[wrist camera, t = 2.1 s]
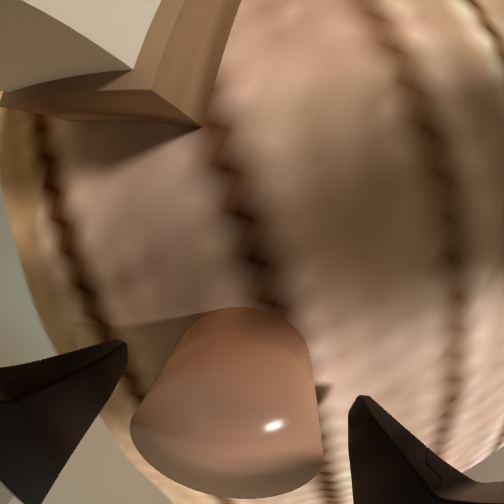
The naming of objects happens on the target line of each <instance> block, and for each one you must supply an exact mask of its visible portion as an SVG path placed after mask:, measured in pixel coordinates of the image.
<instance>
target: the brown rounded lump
mask: <svg viewBox="0 0 504 504" xmlns="http://www.w3.org/2000/svg"><path fill="white" fill-rule="evenodd" d="M130 434H131V437H132V440H133V443H134V445H135V447H136V448H137V450H138V451H139V453H140V454H141V455H142V456H143V458H144V459H145V460H146V461H147V462H148V463H149V464H150V465H151V466H153V467H154V468H155V469H156V470H158V471H159V472H160V473H162V474H163V475H165V476H166V477H168V478H170V479H172V480H173V481H175V482H177V483H179V484H181V485H183V486H186V487H188V488H191V489H193V490H196V491H199V492H203V493H206V494H210V495H215V496H220V497H227V498H237V499H256V498H266V497H272V496H277V495H281V494H284V493H287V492H290V491H293V490H295V489H297V488H299V487H301V486H303V485H304V484H306V483H307V482H309V481H310V480H311V479H312V478H313V477H314V476H315V475H316V474H317V473H318V471H319V470H320V468H321V466H322V463H323V447H322V439H321V430H320V422H319V414H318V406H317V399H316V391H315V384H314V377H313V370H312V364H311V358H310V352H309V349H308V347H307V344H306V342H305V341H304V339H303V337H302V336H301V335H300V334H299V332H298V331H297V330H296V329H295V328H294V327H293V326H292V325H290V324H289V323H288V322H286V321H285V320H283V319H282V318H280V317H278V316H276V315H274V314H271V313H269V312H266V311H263V310H259V309H254V308H248V307H230V308H224V309H219V310H216V311H213V312H210V313H208V314H206V315H204V316H202V317H201V318H199V319H198V320H196V321H195V322H194V323H193V324H192V325H191V326H190V327H189V329H188V330H187V331H186V333H185V334H184V336H183V337H182V339H181V340H180V342H179V344H178V345H177V347H176V348H175V350H174V351H173V353H172V355H171V356H170V358H169V359H168V361H167V362H166V364H165V366H164V367H163V369H162V370H161V372H160V373H159V375H158V377H157V378H156V380H155V381H154V383H153V385H152V386H151V388H150V389H149V391H148V392H147V394H146V396H145V397H144V399H143V400H142V402H141V404H140V405H139V407H138V408H137V410H136V412H135V413H134V415H133V417H132V419H131V423H130Z"/></svg>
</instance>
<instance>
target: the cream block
mask: <svg viewBox="0 0 504 504" xmlns="http://www.w3.org/2000/svg"><path fill="white" fill-rule="evenodd" d="M160 2H161V0H0V91H4V92H11V91H14V90H17V89H21V88H24V87H28V86H32V85H35V84H39V83H44V82H48V81H52V80H57V79H62V78H67V77H73V76H79V75H85V74H92V73H100V72H108V71H119V70H132V69H134V66H135V63H136V60H137V57H138V55H139V52H140V49H141V46H142V44H143V41H144V39H145V36H146V34H147V31H148V29H149V27H150V24H151V22H152V20H153V17H154V15H155V13H156V11H157V9H158V6H159V4H160Z"/></svg>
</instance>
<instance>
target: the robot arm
mask: <svg viewBox="0 0 504 504" xmlns="http://www.w3.org/2000/svg"><path fill="white" fill-rule="evenodd" d="M127 362H128V352H127V343H126V342H124V341H121V340H119V339H114V340H111V341H108V342H104V343H101V344H97V345H94V346H90V347H87V348H83V349H80V350H76V351H73V352H69V353H65V354H62V355H58V356H54V357H50V358H47V359H43V360H41V361H39V360H38V361H34V362H31V363H26V364H21V365H16V366H9V367H2V368H0V504H8V503H9V501H10V500H11V499H12V498H13V496H14V497H16V498H17V499H18V500H19V501H20V502H21V503H23V504H42V502H43V500H44V498H45V497H46V495H47V494H48V492H49V490H50V489H51V487H52V485H53V484H54V482H55V480H56V479H57V477H58V476H59V475H58V474H60V472H61V470H62V469H63V467H64V466H65V464H66V463H67V461H68V459H69V458H70V456H71V455H72V453H73V452H74V450H75V449H76V447H77V446H78V444H79V442H80V441H81V439H82V438H83V436H84V435H85V433H86V432H87V430H88V429H89V427H90V426H91V424H92V423H93V421H94V420H95V418H96V417H97V415H98V414H99V412H100V411H101V409H102V408H103V407H104V405H105V404H106V402H107V401H108V399H109V398H110V396H111V394H112V393H113V391H114V389H115V387H116V385H117V383H118V381H119V379H120V377H121V375H122V373H123V371H124V369H125V368H126V366H127ZM348 450H349V459H350V469H351V478H352V489H353V502H354V504H504V481H503V482H490V483H481V482H476V481H474V480H472V479H470V478H469V477H467V476H466V475H464V474H462V473H461V472H459V471H458V470H456V469H455V468H454V467H452V466H451V465H449V464H448V463H446V462H445V461H444V460H442V459H441V458H440V457H438V456H437V455H436V454H435V453H434V452H432V451H431V450H430V449H429V448H426V446H425V445H424V444H423V443H422V442H421V441H420V440H418V439H417V438H416V437H415V436H414V435H413V434H411V433H410V432H409V431H408V430H407V429H406V428H405V427H403V426H402V425H401V424H400V423H399V422H398V421H397V420H396V419H394V418H393V417H392V416H391V415H390V414H389V413H388V412H387V411H385V410H384V409H383V408H382V407H381V406H380V405H379V404H378V403H377V402H375V401H374V400H373V399H372V398H371V397H370V396H366V395H359V396H358V397H357V398H356V400H355V402H354V403H353V405H352V407H351V409H350V410H349V413H348Z"/></svg>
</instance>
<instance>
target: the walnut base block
mask: <svg viewBox="0 0 504 504" xmlns="http://www.w3.org/2000/svg"><path fill="white" fill-rule="evenodd" d="M240 3H241V0H161V2H160V4H159V6H158V9H157V11H156V13H155V15H154V17H153V20H152V22H151V24H150V27H149V29H148V31H147V34H146V36H145V39H144V41H143V44H142V46H141V49H140V52H139V55H138V57H137V60H136V63H135V66H134V69H132V70H119V71H108V72H100V73H92V74H85V75H79V76H73V77H67V78H62V79H57V80H52V81H48V82H44V83H39V84H35V85H32V86H28V87H24V88H21V89H17V90H14V91H11V92H4V91H3V94H2V98H1V101H0V107H4V108H10V109H16V110H21V111H27V112H32V113H37V114H42V115H46V116H51V117H56V118H60V119H64V120H120V121H141V122H156V123H167V124H178V125H187V126H195V127H203V124H204V120H205V116H206V112H207V109H208V105H209V101H210V97H211V94H212V90H213V86H214V83H215V79H216V76H217V72H218V69H219V66H220V62H221V59H222V56H223V53H224V49H225V46H226V43H227V40H228V37H229V34H230V31H231V28H232V25H233V22H234V19H235V17H236V14H237V11H238V8H239V5H240Z"/></svg>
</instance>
